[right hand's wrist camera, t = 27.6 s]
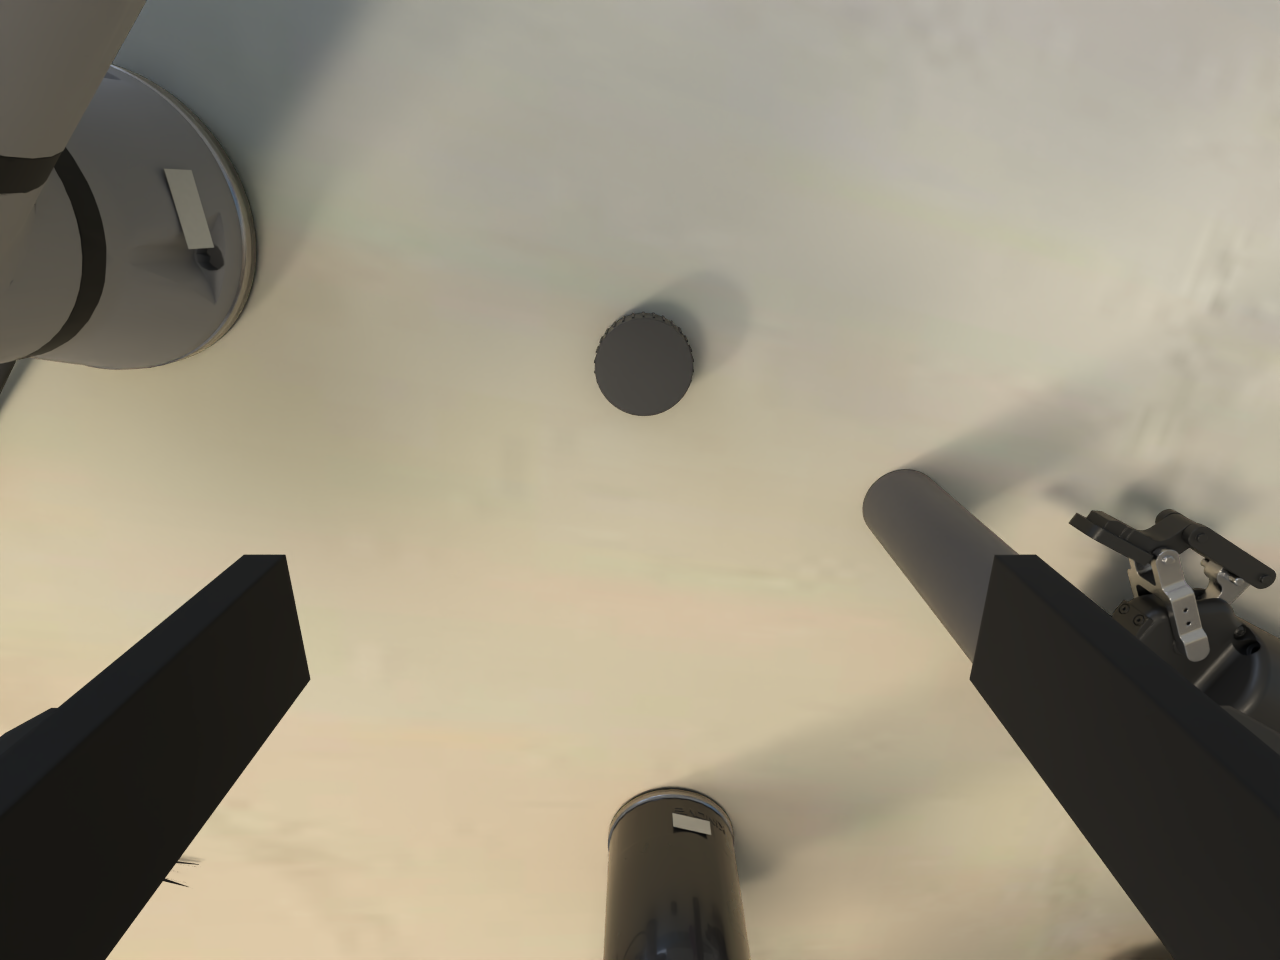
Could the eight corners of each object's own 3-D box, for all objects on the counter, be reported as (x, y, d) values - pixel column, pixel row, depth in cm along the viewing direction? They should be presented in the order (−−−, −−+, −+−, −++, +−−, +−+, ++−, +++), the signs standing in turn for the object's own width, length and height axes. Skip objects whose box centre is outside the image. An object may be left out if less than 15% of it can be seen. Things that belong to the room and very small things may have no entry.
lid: (578, 343, 39) (574, 350, 36) (661, 292, 38) (662, 297, 36) (627, 423, 40) (626, 434, 38) (708, 376, 39) (712, 385, 37)
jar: (929, 542, 43) (1107, 735, 27) (855, 536, 43) (988, 726, 27) (947, 472, 41) (1148, 631, 25) (871, 466, 41) (1022, 622, 25)
